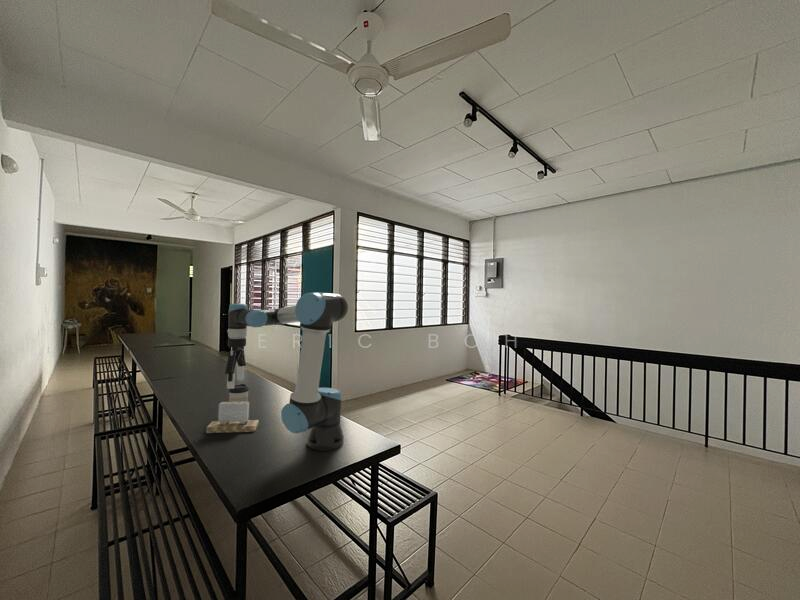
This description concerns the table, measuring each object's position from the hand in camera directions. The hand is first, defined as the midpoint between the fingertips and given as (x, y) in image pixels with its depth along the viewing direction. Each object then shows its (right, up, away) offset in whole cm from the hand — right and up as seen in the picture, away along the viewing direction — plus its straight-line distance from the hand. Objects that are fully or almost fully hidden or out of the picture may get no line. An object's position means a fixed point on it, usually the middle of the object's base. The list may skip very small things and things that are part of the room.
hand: (235, 384), depth 146 cm
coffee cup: (-7, -20, +17) cm, 27 cm away
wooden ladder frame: (-1, -21, 0) cm, 21 cm away
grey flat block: (-1, -21, 0) cm, 21 cm away
